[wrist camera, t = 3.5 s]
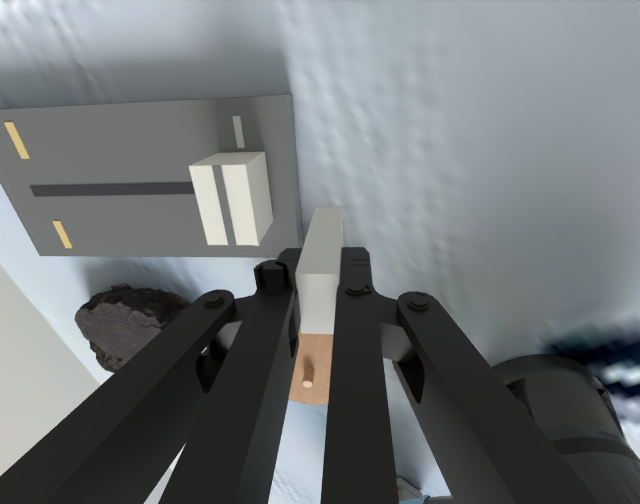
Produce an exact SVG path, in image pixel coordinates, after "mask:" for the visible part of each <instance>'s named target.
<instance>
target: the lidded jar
mask: <svg viewBox="0 0 640 504" xmlns="http://www.w3.org/2000/svg"><path fill="white" fill-rule="evenodd" d="M298 334H299V348H298V353H297V358H296V363H295V368H294V373H293V378H292V383H291V388H290V393H289V399H290V400H293V401H296V402H300V403H305V404H315V405H316V404H328V399H329V386H330V372H331V359H332V346H333V334H301V327H300V328H299V333H298Z"/></svg>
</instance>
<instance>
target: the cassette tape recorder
mask: <svg viewBox="0 0 640 504" xmlns="http://www.w3.org/2000/svg"><path fill="white" fill-rule="evenodd" d="M396 480H397V489H398V498H399V501H403V500H410V499H417V498H421V497H422V493H421V492H420V491H419V490H417V489H416V488H414V487H413V486H412V485H410V484H409V483H407V482H406V481H405V480H403V479H402V478H400V477H397V478H396Z"/></svg>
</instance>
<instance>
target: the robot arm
mask: <svg viewBox="0 0 640 504" xmlns="http://www.w3.org/2000/svg"><path fill="white" fill-rule="evenodd" d="M254 274H255V280H256V285H257V290H256V292H255V294H254V295H252V296H248V297H243V298H238V299H234V295H233V294H232V293H231V292H230V291H227V290H213V291H210V292H207V293H205V294H203V295H202V296H200V297H199V298H197V299H196V300H195V301H194V302H193V303H192V304H191V305H190V306H189V307H188V308H186V309H185V310H184V311H183V312H182V313H181V314H180V315H179V316H178V317H176V318H175V319H174V320H173V321H172V322H171V323H170V324H169V325H168V326H166V327H165V328H164V329H163V330H162V331H161V332H160V333H159V334H158V335H156V336H155V337H154V338H153V339H152V340H151V341H150V342H149V343H148V344H146V345H145V346H144V347H143V348H142V349H141V350H140V351H139V352H138V353H137V354H135V355H134V356H133V357H132V358H131V359H130V360H129V361H128V362H127V363H125V364H124V365H123V366H122V367H121V368H120V369H119V370H118V371H117V372H115V373H114V374H113V375H112V376H111V377H110V378H109V379H108V380H107V381H105V382H104V383H103V384H102V385H101V386H100V387H99V388H98V389H97V390H95V391H94V392H93V393H92V394H91V395H90V396H89V397H88V398H87V399H86V400H85V401H83V402H82V403H81V404H80V405H79V406H78V407H77V408H76V409H74V410H73V411H72V412H71V413H70V414H69V415H68V416H67V417H66V418H65V419H63V420H62V421H61V422H60V423H59V424H58V425H57V426H56V427H55V428H53V429H52V430H51V431H50V432H49V433H48V434H47V435H46V436H44V437H43V438H42V439H41V440H40V441H39V442H38V443H37V444H36V445H35V446H33V447H32V448H31V449H30V450H29V451H28V452H27V453H26V454H25V455H24V456H22V457H21V458H20V459H19V460H18V461H17V462H16V463H15V464H13V465H12V466H11V467H10V468H9V469H8V470H7V471H6V472H5V473H3V474H2V475H1V476H0V504H143V503H144V502H145V501H146V499H147V498H148V496H149V495H150V493H151V492H152V491H153V489H154V488H155V486H156V485H157V483H158V482H159V481H160V479H161V478H162V476H163V475H164V473H165V472H166V471H167V469H168V468H169V466H170V465H171V463H172V462H173V461H174V459H175V458H176V456H177V455H178V453H179V452H180V450H181V449H182V448H183V446H184V445H185V446H184V448H183V451H182V453H181V455H180V457H179V459H178V461H177V464H176V466H175V468H174V470H173V472H172V475H171V477H170V479H169V481H168V483H167V485H166V488H165V490H164V492H163V494H162V496H161V499H160V501H159V503H158V504H268V500H269V495H270V490H271V484H272V479H273V474H274V469H275V464H276V459H277V454H278V449H279V444H280V439H281V434H282V429H283V424H284V419H285V414H286V409H287V404H288V399H289V393H290V388H291V383H292V378H293V373H294V368H295V363H296V358H297V353H298V348H299V334H298V333H299V328H300V327H301V334H333V346H332V359H331V372H330V386H329V399H328V412H327V425H326V438H325V451H324V465H323V478H322V491H321V504H640V459H639V458H638V457H637V456H636V454H635V453H634V452H633V450H632V449H631V448H630V446H629V444H628V443H627V440H626V438H625V435H624V433H623V430H622V427H621V425H620V422H619V420H618V417H617V415H616V412H615V410H614V407H613V405H612V403H611V400H610V397H609V395H608V392H607V391H606V389H605V388H604V386H603V385H602V384H601V382H600V381H599V380H598V379H597V378H596V377H595V375H594V374H593V373H592V372H591V371H590V370H589V369H588V368H587V367H586V366H584V365H583V364H581V363H579V362H577V361H574V360H572V359H568V358H565V357H559V356H551V355H537V356H528V357H522V358H518V359H514V360H511V361H508V362H505V363H502V364H500V365H498V366H496V367H494V368H491V367H490V365H489V364H488V363H487V362H486V360H485V359H484V358H483V357H482V355H481V354H480V353H479V352H478V350H477V349H476V348H475V347H474V345H473V344H472V343H471V342H470V340H469V339H468V338H467V337H466V335H465V334H464V333H463V332H462V330H461V329H460V328H459V327H458V325H457V324H456V323H455V322H454V320H453V319H452V318H451V317H450V315H449V314H448V313H447V312H446V310H445V309H444V308H443V307H442V305H441V304H440V303H439V302H438V301H437V300H436V299H435V298H434V297H433V296H431V295H428V294H426V293H422V292H407V293H403V294H402V295H400V296H399V297H398V300H395V299H391V298H387V297H384V296H382V295H380V294H379V293H378V292H376V291H375V289H374V287H373V284H372V274H371V266H370V256H369V252H368V251H367V250H366V249H365V248H364V247H344V226H343V207H315V209H314V212H313V216H312V219H311V222H310V226H309V229H308V232H307V236H306V239H305V242H304V246H303V248H286V249H285V250H284V251H282V252H281V253H280V254H279V257H278V259H277V260H269V261H265V262H262V263H260V264H259V265H257V266H256V267H255V268H254ZM205 347H207V349H206V350H205V351H204V352H203V353H202V354H200V353H201V352H202V351H203V350H204V349H205ZM383 357H384V358H387V359H391V360H392V363H393V366H394V369H395V371H396V373H397V375H398V377H399V380H400V382H401V384H402V386H403V389H404V391H405V393H406V395H407V397H408V400H409V402H410V404H411V406H412V409H413V411H414V413H415V415H416V417H417V420H418V422H419V424H420V426H421V429H422V431H423V433H424V435H425V437H426V440H427V442H428V444H429V446H430V449H431V451H432V453H433V455H434V457H435V460H436V462H437V464H438V466H439V469H440V471H441V473H442V475H443V477H444V480H445V482H446V484H447V486H448V489H449V491H450V493H451V495H452V496H439V497H430V496H428V495H423V496H422V497H421V498H417V499H410V500H403V501H399V498H398V489H397V480H396V471H395V462H394V453H393V445H392V436H391V427H390V418H389V409H388V400H387V391H386V382H385V373H384V365H383ZM185 443H186V444H185Z"/></svg>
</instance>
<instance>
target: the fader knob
mask: <svg viewBox="0 0 640 504" xmlns="http://www.w3.org/2000/svg"><path fill="white" fill-rule="evenodd" d="M189 170H190V174H191V178H192V182H193V186H194V190H195V194H196V198H197V202H198V206H199V211H200V215H201V219H202V223H203V227H204V231H205V235H206V239H207V243H208V245H228V246H236V245H259V243H260V241H261V240H262V238H263V237H264V235H265V233H266V232H267V230H268V228H269V227H270V225H271V224H272V222H273V213H272V205H271V197H270V189H269V181H268V173H267V165H266V157H265V152H233V153H216V154H214V155H212V156H210V157H208V158H205V159H203V160H201V161H199V162H197V163H194V164H192V165H190V166H189Z"/></svg>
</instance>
